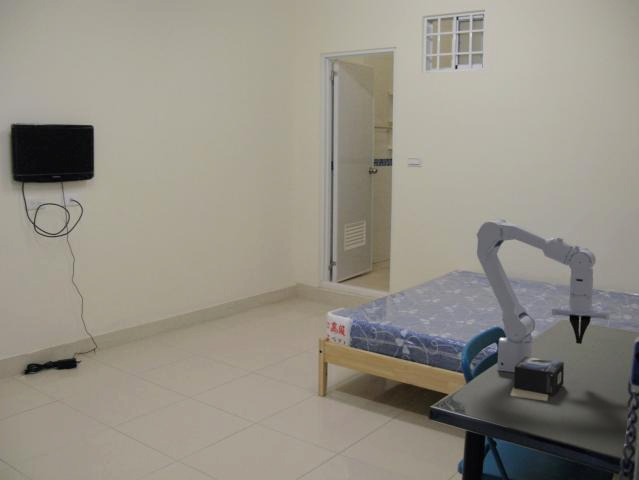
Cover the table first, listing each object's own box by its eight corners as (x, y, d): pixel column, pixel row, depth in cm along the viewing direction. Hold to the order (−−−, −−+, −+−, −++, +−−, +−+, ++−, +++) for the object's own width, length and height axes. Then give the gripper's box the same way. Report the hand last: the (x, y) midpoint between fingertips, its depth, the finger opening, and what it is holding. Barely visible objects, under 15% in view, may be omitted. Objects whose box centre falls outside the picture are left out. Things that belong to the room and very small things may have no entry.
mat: (510, 396, 165) (510, 394, 165) (516, 379, 178) (516, 378, 178) (547, 400, 161) (547, 399, 161) (551, 383, 174) (551, 382, 174)
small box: (554, 371, 163) (513, 365, 169) (554, 396, 164) (513, 389, 169) (564, 360, 172) (524, 355, 177) (563, 384, 172) (524, 378, 178)
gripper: (551, 294, 173) (549, 343, 175) (610, 298, 168) (608, 349, 169) (553, 290, 180) (551, 337, 181) (610, 293, 174) (607, 342, 176)
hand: (579, 342), depth 176 cm, fingers closed
